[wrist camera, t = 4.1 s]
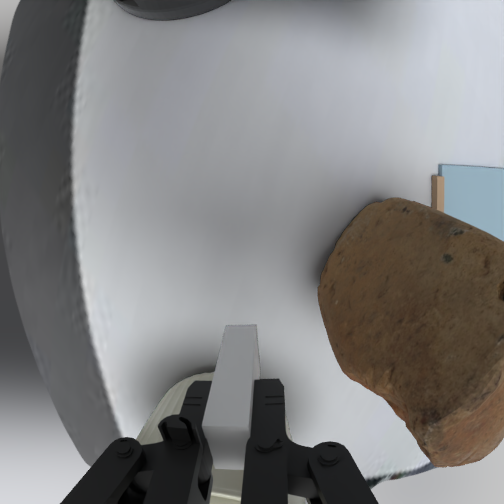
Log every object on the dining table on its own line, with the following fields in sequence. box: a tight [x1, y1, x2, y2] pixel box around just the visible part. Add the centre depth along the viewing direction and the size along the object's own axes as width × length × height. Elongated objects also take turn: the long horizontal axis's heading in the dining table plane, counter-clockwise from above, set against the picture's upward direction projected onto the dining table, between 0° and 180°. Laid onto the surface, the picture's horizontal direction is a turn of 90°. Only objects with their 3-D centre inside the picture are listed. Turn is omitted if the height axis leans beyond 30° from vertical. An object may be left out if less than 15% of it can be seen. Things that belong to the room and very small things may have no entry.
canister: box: [136, 372, 305, 504], centre depth 22 cm, size 18×18×21 cm
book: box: [432, 165, 504, 241], centre depth 25 cm, size 16×15×1 cm
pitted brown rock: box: [318, 198, 504, 467], centre depth 17 cm, size 11×8×20 cm
